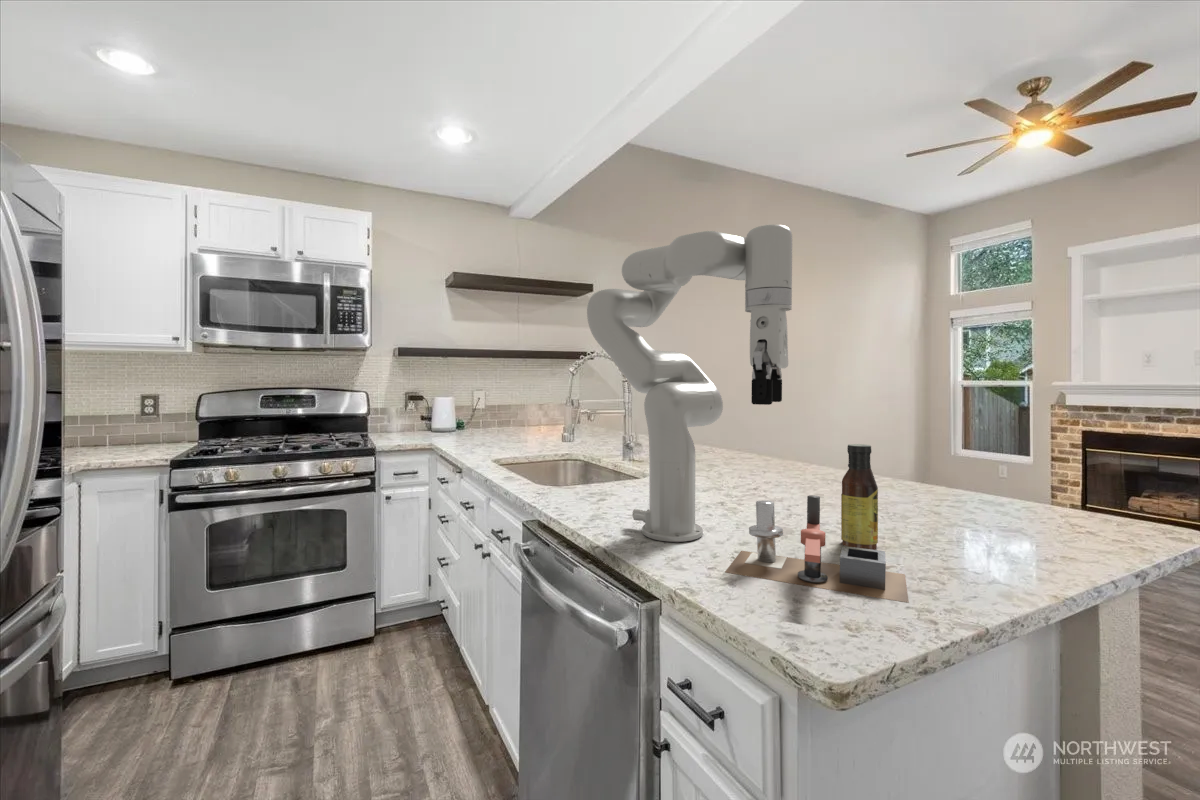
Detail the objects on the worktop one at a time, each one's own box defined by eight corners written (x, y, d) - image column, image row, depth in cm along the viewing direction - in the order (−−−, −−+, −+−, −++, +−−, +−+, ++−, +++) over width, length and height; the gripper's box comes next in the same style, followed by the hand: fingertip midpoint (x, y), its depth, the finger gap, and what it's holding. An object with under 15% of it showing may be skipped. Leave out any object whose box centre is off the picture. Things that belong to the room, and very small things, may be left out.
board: (724, 578, 87) (724, 571, 87) (741, 555, 97) (741, 549, 97) (908, 609, 75) (908, 601, 75) (904, 580, 85) (904, 573, 85)
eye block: (839, 582, 82) (839, 557, 82) (841, 569, 87) (842, 545, 87) (885, 590, 79) (885, 563, 79) (884, 576, 85) (885, 551, 84)
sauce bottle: (882, 556, 97) (884, 447, 96) (845, 554, 98) (847, 447, 97) (871, 545, 103) (873, 443, 102) (837, 543, 104) (838, 442, 104)
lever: (802, 527, 92) (802, 494, 92) (824, 529, 91) (825, 496, 90) (798, 562, 75) (799, 521, 75) (826, 565, 74) (826, 524, 73)
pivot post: (795, 580, 83) (796, 547, 83) (799, 571, 87) (799, 540, 87) (826, 585, 81) (826, 552, 81) (828, 576, 85) (829, 543, 85)
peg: (746, 562, 91) (744, 504, 91) (753, 553, 96) (752, 497, 95) (780, 567, 88) (778, 507, 88) (786, 556, 93) (784, 500, 93)
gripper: (783, 293, 81) (782, 406, 81) (798, 306, 96) (797, 401, 97) (733, 297, 84) (733, 405, 85) (755, 309, 99) (755, 400, 100)
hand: (767, 402), depth 91 cm, fingers open, 9 cm apart
